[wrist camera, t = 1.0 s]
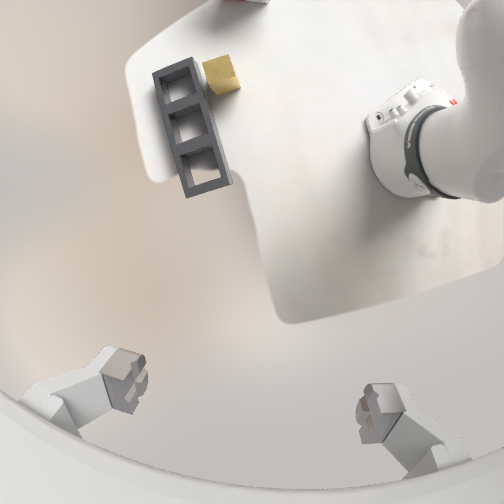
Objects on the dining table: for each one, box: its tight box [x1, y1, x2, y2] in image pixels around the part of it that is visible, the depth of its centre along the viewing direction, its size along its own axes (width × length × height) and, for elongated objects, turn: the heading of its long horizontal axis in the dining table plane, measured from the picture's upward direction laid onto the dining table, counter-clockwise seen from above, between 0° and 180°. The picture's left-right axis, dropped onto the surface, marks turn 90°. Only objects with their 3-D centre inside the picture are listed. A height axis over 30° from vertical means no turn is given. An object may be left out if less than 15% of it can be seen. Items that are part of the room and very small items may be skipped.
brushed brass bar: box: [202, 55, 241, 95], centre depth 37 cm, size 4×4×6 cm
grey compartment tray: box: [152, 57, 233, 198], centre depth 40 cm, size 22×7×4 cm, turn 16°
